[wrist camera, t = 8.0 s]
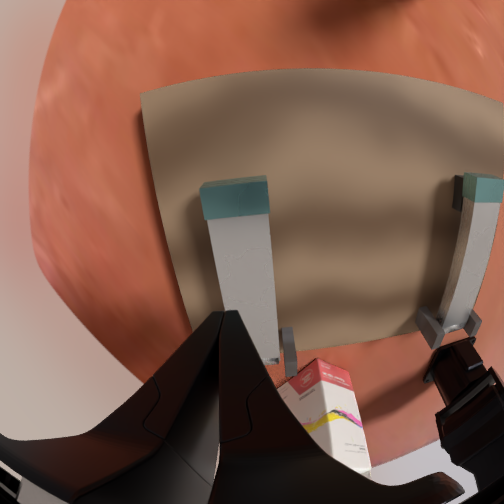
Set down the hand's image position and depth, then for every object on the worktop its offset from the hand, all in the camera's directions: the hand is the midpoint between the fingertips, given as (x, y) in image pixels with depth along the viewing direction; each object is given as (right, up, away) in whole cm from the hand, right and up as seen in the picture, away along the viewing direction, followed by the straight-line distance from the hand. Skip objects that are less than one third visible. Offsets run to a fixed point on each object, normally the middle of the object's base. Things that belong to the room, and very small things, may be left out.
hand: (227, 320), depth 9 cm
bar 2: (+17, +2, +7) cm, 18 cm away
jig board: (+8, +5, +9) cm, 13 cm away
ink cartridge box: (+6, -12, +18) cm, 22 cm away
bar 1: (+1, 0, +8) cm, 8 cm away
